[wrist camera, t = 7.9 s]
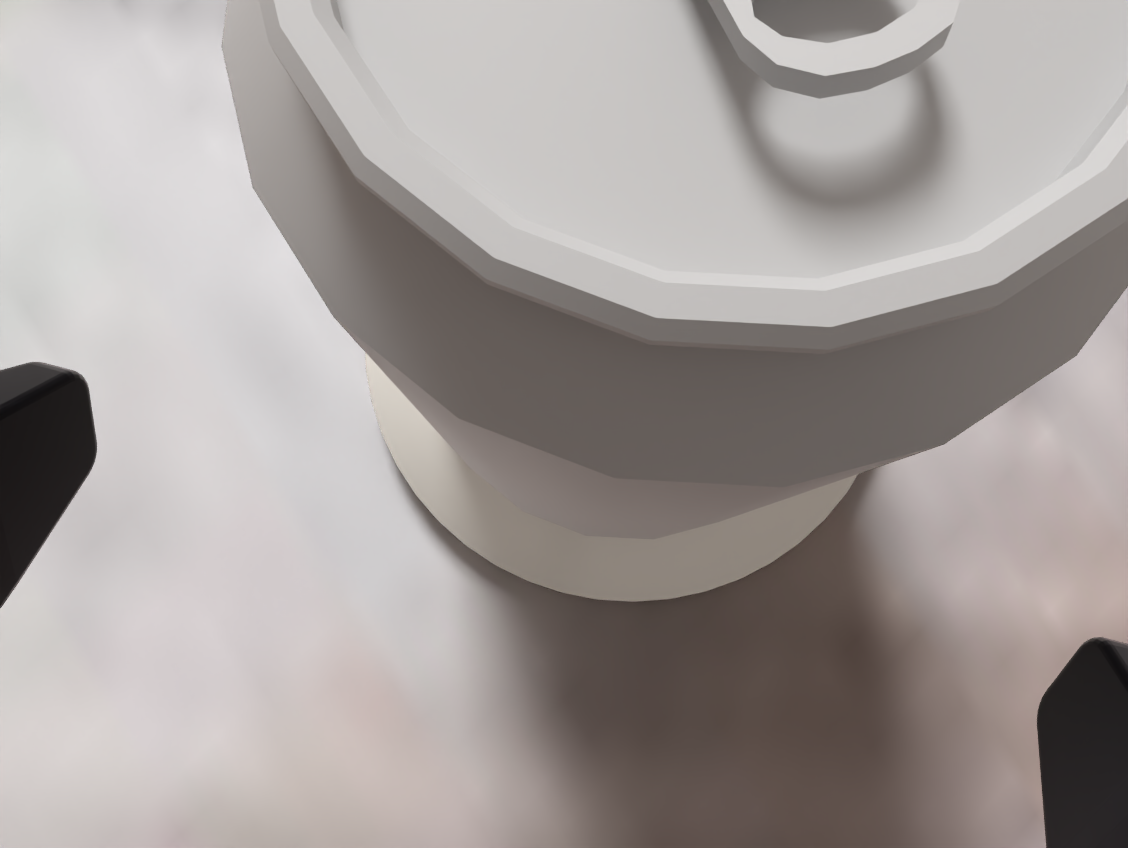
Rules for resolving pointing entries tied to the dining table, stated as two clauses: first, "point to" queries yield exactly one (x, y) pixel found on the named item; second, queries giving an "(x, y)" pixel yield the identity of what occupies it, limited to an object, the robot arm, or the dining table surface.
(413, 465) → the coaster
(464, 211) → the can
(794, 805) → the dining table surface
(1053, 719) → the robot arm
